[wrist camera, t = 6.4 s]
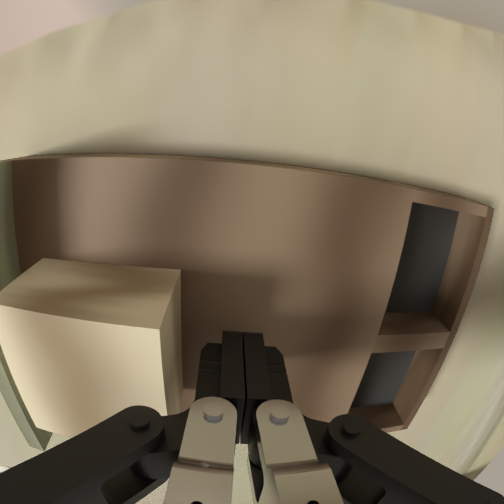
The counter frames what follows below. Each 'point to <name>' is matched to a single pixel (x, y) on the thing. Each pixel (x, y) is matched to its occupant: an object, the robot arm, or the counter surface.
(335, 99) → the counter surface
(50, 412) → the maple block
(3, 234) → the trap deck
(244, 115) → the counter surface
